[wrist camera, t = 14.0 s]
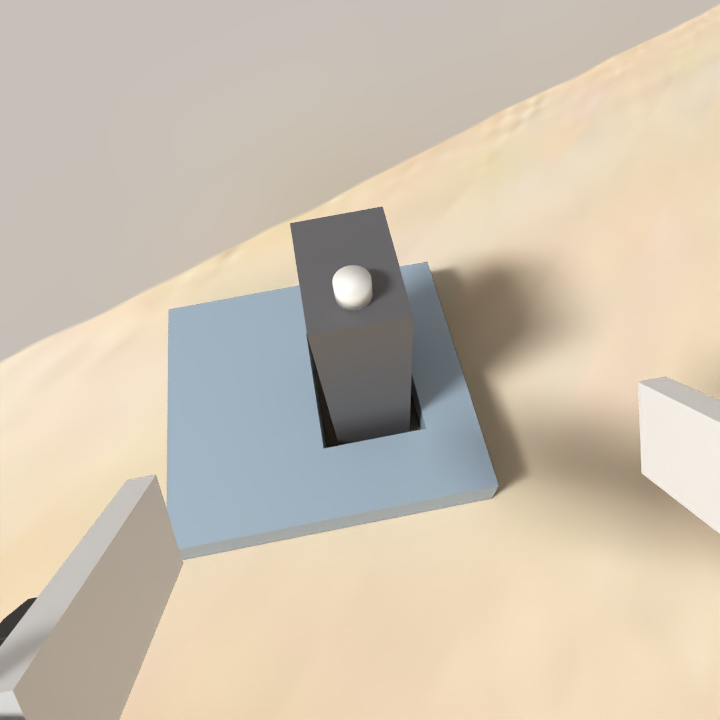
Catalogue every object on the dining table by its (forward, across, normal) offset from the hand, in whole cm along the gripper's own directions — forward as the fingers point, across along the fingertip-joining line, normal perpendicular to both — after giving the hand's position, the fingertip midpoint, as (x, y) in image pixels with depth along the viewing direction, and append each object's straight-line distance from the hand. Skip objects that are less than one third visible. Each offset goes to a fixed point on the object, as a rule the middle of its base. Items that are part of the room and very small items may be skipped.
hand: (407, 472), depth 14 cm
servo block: (+20, 0, -4) cm, 20 cm away
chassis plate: (+20, -3, -4) cm, 20 cm away
